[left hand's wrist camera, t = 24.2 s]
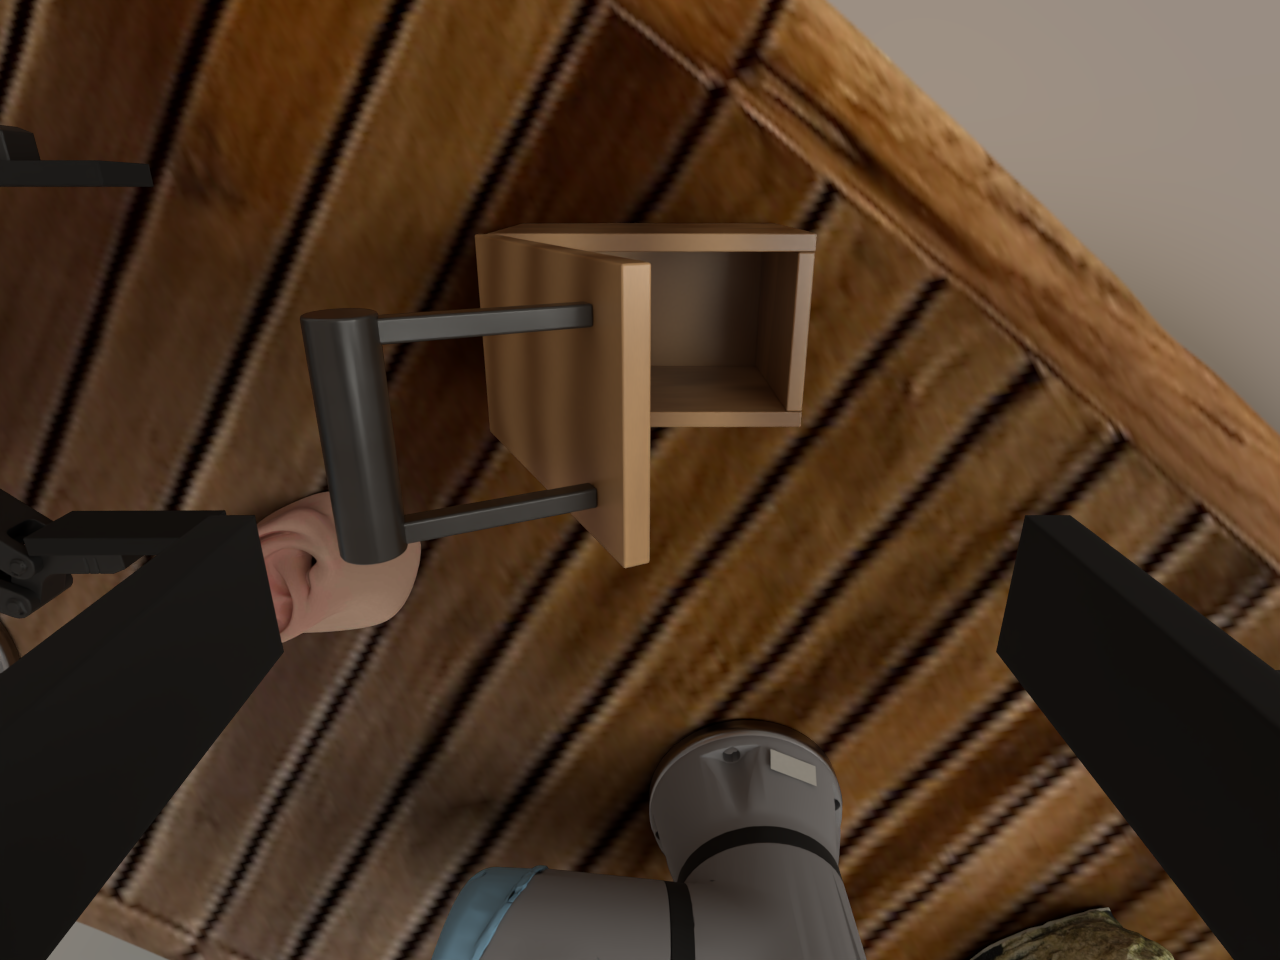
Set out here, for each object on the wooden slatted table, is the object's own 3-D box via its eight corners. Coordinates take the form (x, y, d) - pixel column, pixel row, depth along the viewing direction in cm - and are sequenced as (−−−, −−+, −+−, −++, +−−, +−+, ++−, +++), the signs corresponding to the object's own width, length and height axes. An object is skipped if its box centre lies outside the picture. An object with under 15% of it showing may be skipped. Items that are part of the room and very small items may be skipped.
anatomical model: (402, 521, 46) (408, 673, 50) (420, 497, 50) (424, 640, 54) (188, 506, 46) (213, 659, 50) (222, 482, 49) (242, 627, 54)
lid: (652, 262, 20) (295, 278, 16) (650, 563, 23) (355, 632, 20) (494, 233, 33) (277, 239, 29) (508, 429, 36) (314, 455, 33)
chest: (774, 223, 44) (817, 233, 33) (765, 375, 47) (800, 427, 37) (522, 223, 44) (486, 233, 33) (531, 375, 47) (500, 427, 37)
